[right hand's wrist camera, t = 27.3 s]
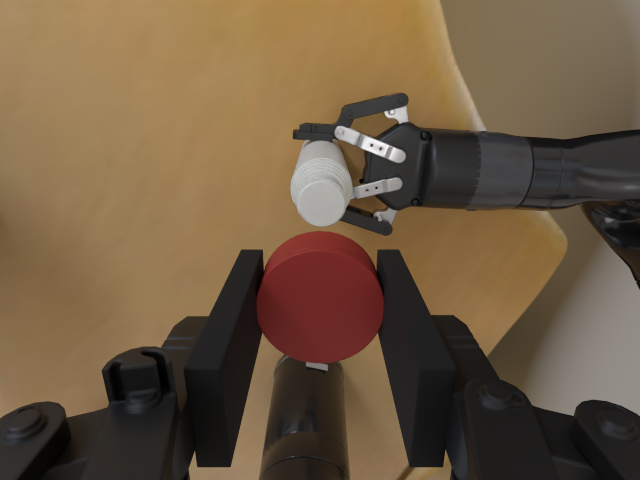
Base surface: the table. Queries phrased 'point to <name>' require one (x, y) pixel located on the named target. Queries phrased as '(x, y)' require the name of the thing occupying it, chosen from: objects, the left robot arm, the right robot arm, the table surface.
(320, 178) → the bottle
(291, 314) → the cap
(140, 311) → the table surface
